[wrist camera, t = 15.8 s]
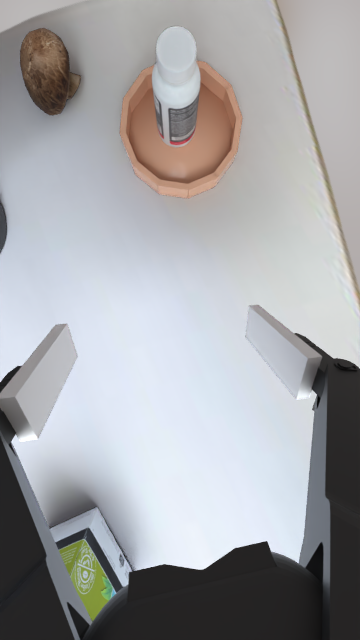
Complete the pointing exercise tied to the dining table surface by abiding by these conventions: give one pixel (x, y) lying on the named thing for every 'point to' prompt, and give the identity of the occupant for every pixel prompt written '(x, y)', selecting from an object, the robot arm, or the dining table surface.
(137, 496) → the dining table surface
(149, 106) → the bowl
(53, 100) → the mushroom
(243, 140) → the dining table surface
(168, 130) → the pill bottle
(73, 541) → the tea box
